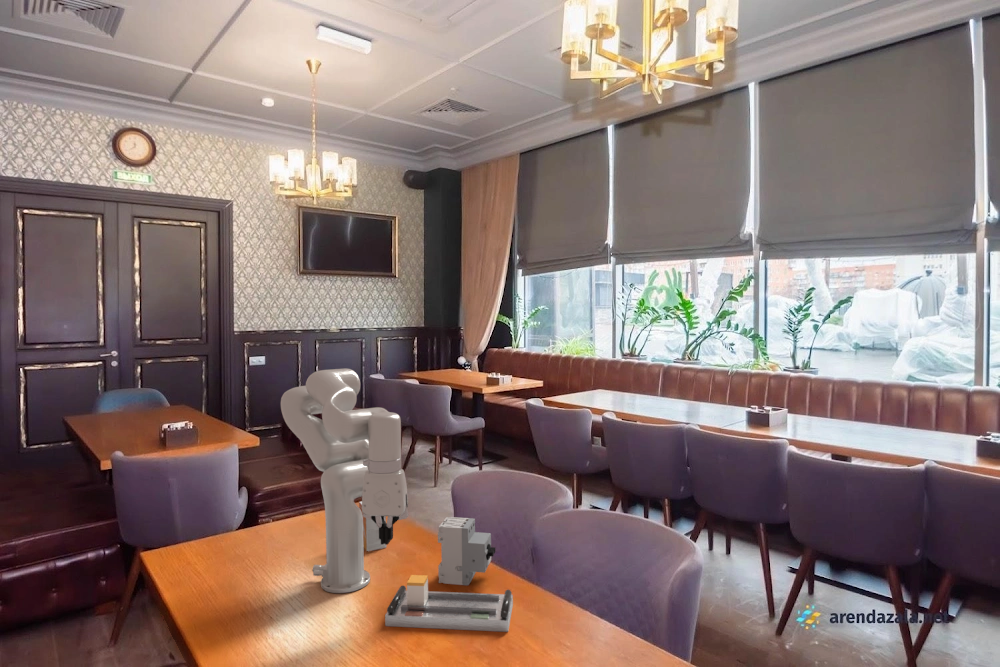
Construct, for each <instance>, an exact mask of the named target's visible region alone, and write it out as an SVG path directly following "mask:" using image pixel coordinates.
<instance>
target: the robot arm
mask: <svg viewBox="0 0 1000 667" xmlns="http://www.w3.org/2000/svg"><path fill="white" fill-rule="evenodd" d="M360 391H361V380H360V377H359V374H357V372H355V370H353V369H351V368H345V367H344V368H335V369H334V368H333V369H322V370H318V371H317V370H316V371H314V372H313V373H311V374H310V375H309V376H308V378H307V379H306V381H305V385H299V386H296V387H292V388H290V389H288V390H286V391H285V392H284V393H283V394H282V396H281V398H280V410H281V414H282V418H283V420H284V422H285V424H286V426H287V427H288V429H290V431H291V432H292V433H293V434H294V435H295V436H296V438H298V440H300V442H301V443H302V446H303V448H304V449H305V450H306V453H307V454H308V456H309V458H310V460H311V461H312V463H313V465H314V466H315V467H316V469H317V470H318V471H320V472H322V474H321V478H320V487H321V492H322V497H323V502H324V504H323V505H324V515H325V516H324V517H325V544H326V545H325V546H326V549H325V550H326V552H325V553H326V563H325V564H324V565H321V564H313V566H312V573H313V574H312V575H313V576H314V577H319V576H320V577H321V579H320V587H321V588H322V589H323V590H324V591H326V592H327V593H332V594H345V593H351V592H355V591H358V590H361V589H363V588H365V587H366V586H367V585H369V583H370V581H371V574H370V572H368V571H367V570H365V560H364V559H365V557H364V556H365V555H364V551H365V548H364V546H363V517H365V518H369V519H372V520H373V521H374V522H375V523H376V524H377V527H379V539H381V544H386V545H387V546H388V545H389V543H390V542H391V541H392V540H393V539H394V525H395V523H397V521H401V520H405V519H407V518H408V517H409V511H408V507H409V497H408V496H409V494H408V486H407V485H408V484H407V479H406V474H405V471H404V469H402V429H401V428H402V423H401V422H402V421H401V420H402V419H401V416H400V415H399V414H398V413H396V412H392V411H391V412H390V411H388V410H387V409H386V408H384V407H378V406H377V407H369V408H359V409H354V408H355V406H356V404H357V400H358V399H357V396H358V394H359V392H360ZM318 414H321V418H322V419H321V418H319V417H317V416H315V415H318ZM358 498H361V501H362V512H363V515H362V512H361V510H360V508H359V505H357V504H356V503H355V499H358ZM384 516H386V522H385V517H384Z"/></svg>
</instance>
